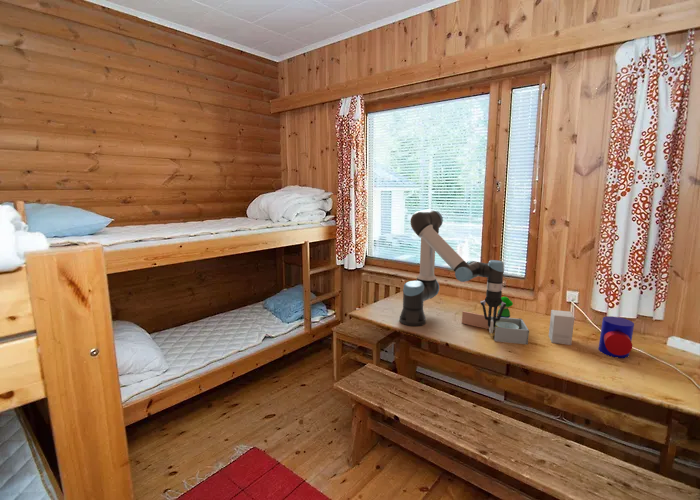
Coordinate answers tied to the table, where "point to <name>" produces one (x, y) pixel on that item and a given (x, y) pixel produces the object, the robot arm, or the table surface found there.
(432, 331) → the table surface
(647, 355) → the table surface
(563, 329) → the supplement box
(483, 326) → the door
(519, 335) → the box
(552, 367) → the table surface
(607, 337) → the cylinder
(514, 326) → the bowl
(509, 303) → the toy
